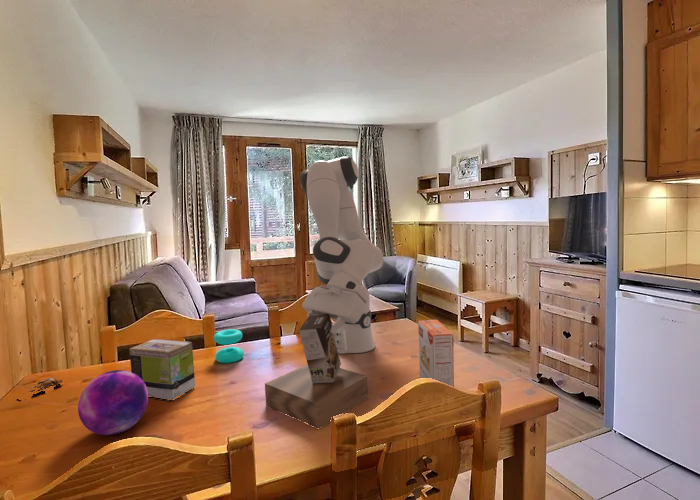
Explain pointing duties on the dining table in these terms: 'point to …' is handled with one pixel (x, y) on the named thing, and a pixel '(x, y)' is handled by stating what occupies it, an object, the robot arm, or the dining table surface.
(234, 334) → the donuts
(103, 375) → the decorative orb
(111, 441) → the dining table surface
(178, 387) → the tea box
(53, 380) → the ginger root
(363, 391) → the walnut block
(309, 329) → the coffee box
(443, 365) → the cracker box
